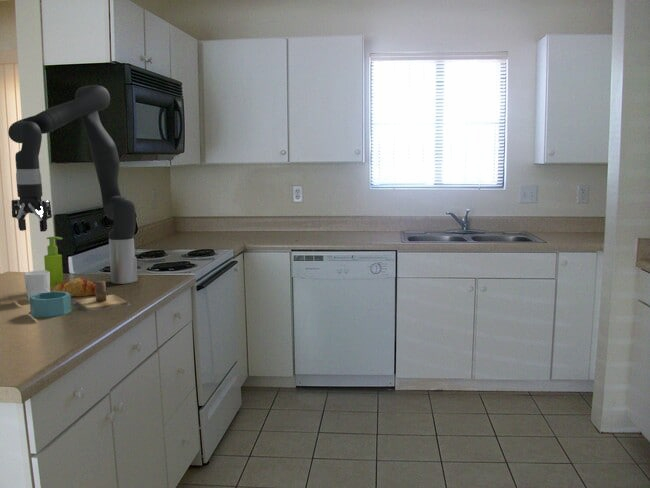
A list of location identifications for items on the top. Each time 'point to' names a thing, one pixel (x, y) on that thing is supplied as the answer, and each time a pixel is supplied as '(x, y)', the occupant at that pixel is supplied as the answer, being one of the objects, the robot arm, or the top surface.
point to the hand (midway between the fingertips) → (33, 230)
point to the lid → (101, 299)
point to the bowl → (50, 304)
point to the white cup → (37, 282)
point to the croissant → (76, 287)
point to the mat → (97, 309)
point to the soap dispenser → (54, 262)
